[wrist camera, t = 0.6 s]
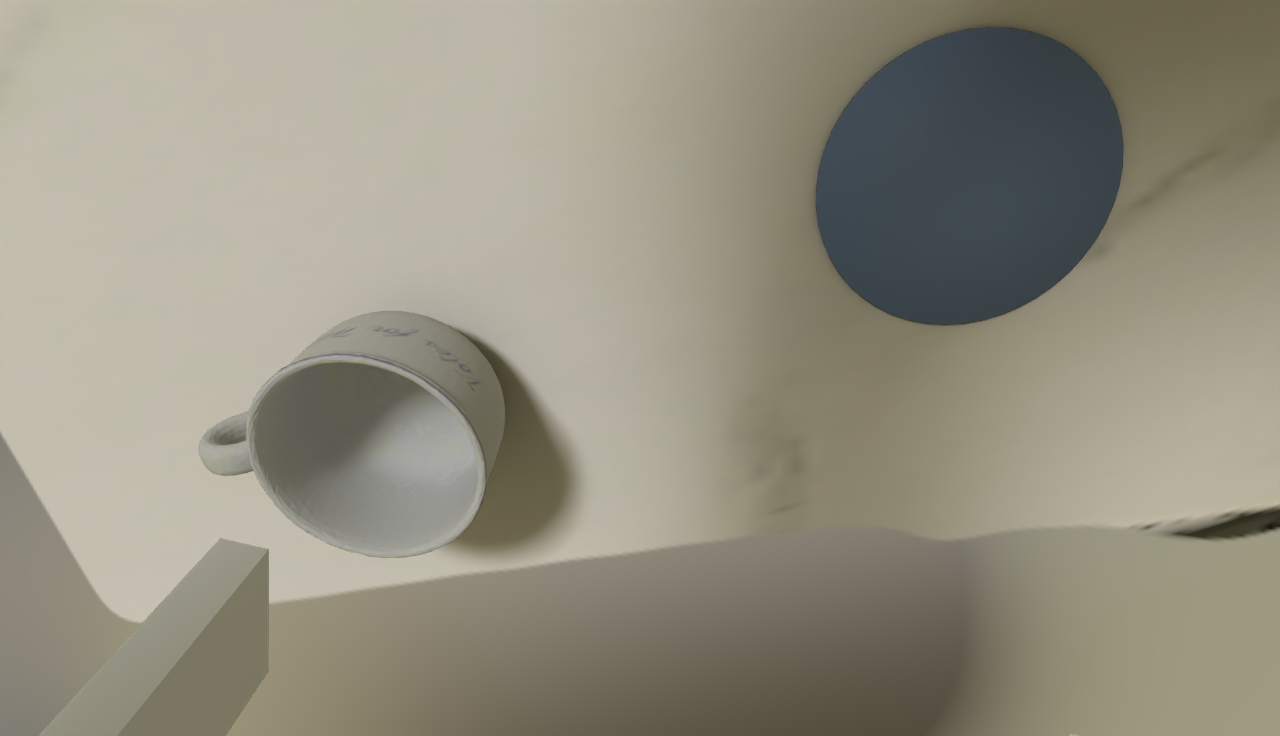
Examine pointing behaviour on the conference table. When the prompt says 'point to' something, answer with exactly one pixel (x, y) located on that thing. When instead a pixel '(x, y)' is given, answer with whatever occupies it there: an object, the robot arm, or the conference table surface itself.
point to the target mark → (969, 175)
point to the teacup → (372, 435)
